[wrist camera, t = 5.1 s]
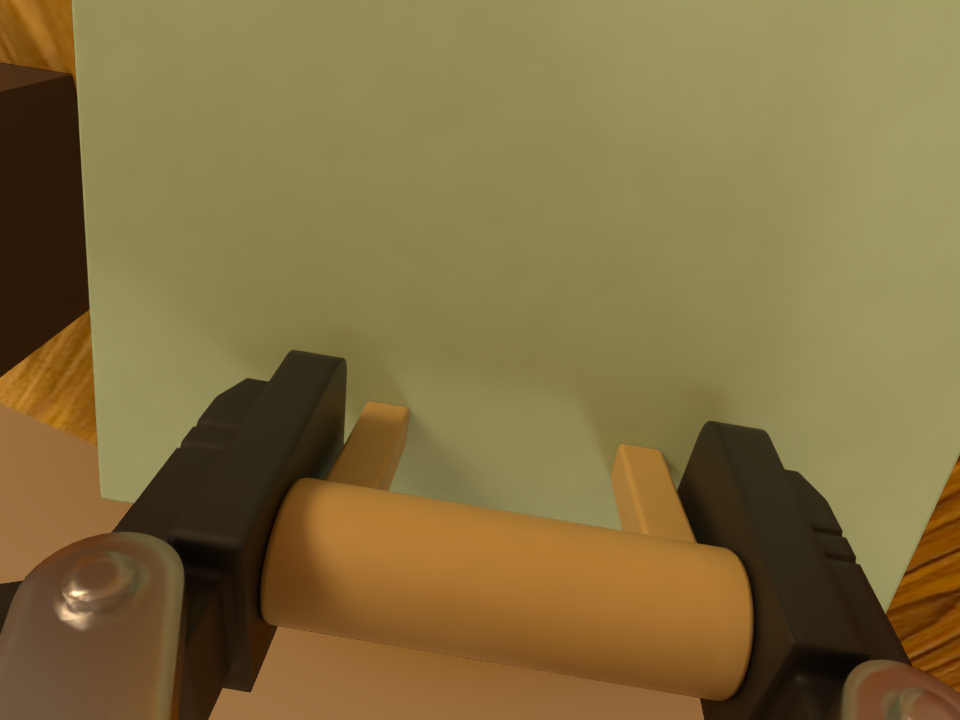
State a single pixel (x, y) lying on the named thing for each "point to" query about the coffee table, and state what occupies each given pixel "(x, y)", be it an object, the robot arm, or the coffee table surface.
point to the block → (39, 211)
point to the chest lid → (533, 293)
